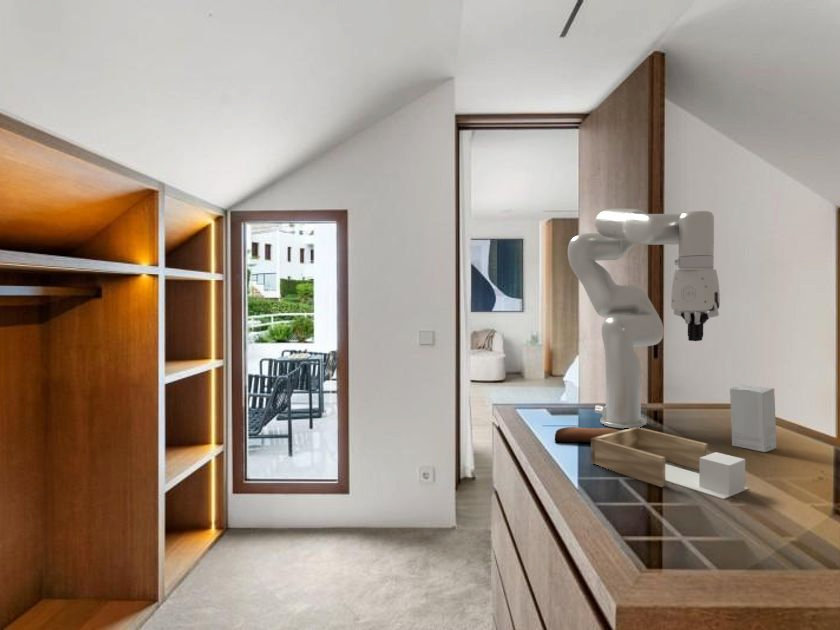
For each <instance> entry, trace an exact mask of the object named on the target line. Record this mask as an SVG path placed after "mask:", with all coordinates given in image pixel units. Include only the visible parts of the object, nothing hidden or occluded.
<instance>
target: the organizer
mask: <svg viewBox="0 0 840 630" xmlns="http://www.w3.org/2000/svg"><path fill="white" fill-rule="evenodd" d="M706 455H709V443H706V442H702V441H698V440H694V439H690V438H685V437H682V436H681V437H680V436H677V435H673V434H669V433H665V432H661V431H657V430H652V429H648V428H644V427H641V428H640V427H633V428H629V429H622V430H619V431H617V432H614V433H610V434H606V435H602V436H598V437H594V438H591V442H590V464H591V463H593V464H596V465H599V466H601V467H600V468H602V467H604V468H603V469H605V468H606V470H608V469H609V470H608V471H611V470H612V472H614V471H615V472H614V473H618V474H620V475H623V476H625V477H626V476H627V477H630V478H633V479H635V480H639V481H643V482H645V483H648V484H651V485H653V486H657V487H660V488H664V487H666V481H665V464H666V462H668V461H669V462H670V463H673V464H676V465H680V466H683V467H687V468H690V469H694V470H696V471H697V470H698V471H699V460H700V457H703V456H706ZM669 462H668V463H669ZM593 464H592V465H593ZM596 465H595V466H596ZM599 466H598V467H599Z"/></svg>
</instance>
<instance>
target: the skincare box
mask: <svg viewBox="0 0 840 630" xmlns="http://www.w3.org/2000/svg"><path fill="white" fill-rule="evenodd" d="M729 397H730V398H729V399H730V401H729V402H730V422H731V423H730V424H731V445H732V446H733V447H737V448H743V449H748V450H753V451H757V452H762V453H767V452H769V451H773V450H776V449H777V422H776V419H777V418H776V402H775V401H776V400H775V399H776V397H775V388H773V387H761V386H752V385H745V384H741V385H737V386H734V387H731V388H729ZM732 446H731V447H732Z"/></svg>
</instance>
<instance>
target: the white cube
mask: <svg viewBox="0 0 840 630" xmlns="http://www.w3.org/2000/svg"><path fill="white" fill-rule="evenodd" d="M698 471H699V472H698V473H699V487H702V488H705V489H709V490H712V491H715V492H719V493H722V494H725V495H728V496H729V495H731V494H734V493H736V492H738V491H741V490H743V489H745V487H746V458H742V457H738V456H733V455H728V454H725V453H721V452H717V451H715V452H712V453H710V454H709V453H708V455H706V456H703V457H700V460H699V470H698Z"/></svg>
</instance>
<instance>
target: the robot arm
mask: <svg viewBox="0 0 840 630" xmlns="http://www.w3.org/2000/svg"><path fill="white" fill-rule="evenodd" d="M594 226H595V229H596V231H597V232H591V233H590V232H589V233H588V232H587V233H581V234H577V235H576V236H574V237H572V238H571V239H570V241H569V243H568V246H567V258H568V263H569V266H570V268H571V270H572V272H573V273H574V275H575V276H576V277H577V279H578V280H579V282H580V284H582V287H583V288H584V290H585V292H586V295H587V296H588V298H589V300H590V303H591V305H592V306H593V308H594V310H595V312H596V313H597V315H599V317H601V318H605V320H604V322H603V323H602V324H601V325H602V326H601V337H602V341H603V348H604V357H605V359H604V360H605V361H604V362H605V405H604V406H603V405H599V404H596V405H595V407H594V413H596V414H601V415H602V416H600V421H599V422H600V424H602V425H603V424H604V425H603V426H606V427H609V428H613V429H624V428H631V427H639V426H643V425H645V424H646V423H647V419H646V418H643V417H641V416H642V415H641V413H642V412H641V411H642V410H641V409H642V408H641V407H642V406H641V403H642V397H641V396H642V393H641V392H642V391H641V390H642V385H641V383H642V382H641V378H642V377H641V373H642V370H641V362H640V361H641V360H640V358H639V357H638V354H637V353H636V351H635V348H639V347H651V346H652V347H653V346H655V345H658V344H659V343H660V342H661V341H662V340H663V338H664V335H665V334H664V333H665V330H664V329H665V328H664V325H663V321H662V319H661V318H660V315H659V314H658V312H657V310H656V308H655V306H654V304H653V303H652V302H651V299H650V298H649V296H648V295H647V293H646V291H645V290H643V288H641V287H639V286H637V285H633V284H631V285H630V284H629V285H628V284H627V285H625V284H624V285H623V284H622V285H619V284H617V283H616V282H615V281H614V280H613V278H612V276H611V274H610V273H609V271H608V270H607V269H606V268H605V267H603V266H602V265H600V263H598V261H617V260H620V259H621V258H623V257H624V256H626V254H627V253H628V252H629V251H630V249H632V248H633V246H634V245H635V244H642V245H649V246H650V245H652V246H655V245H658V246H659V245H678V258H677V259H675V260H674V265H675V266H678V269H677V270H674V271H675V272H674V273H673V277H672V278H673V279H672V285H671V294H670V295H671V296H670V307H671V309H672V310H673V315H675V316H678V317H681V318H682V319H683V320H684V321H685V324H686V325H687V340H688V341H690V342H699V341H700V342H701V341H703V337H704V325H705V324H706V323H707V321H708V320H709V319H711V318H716V317H718V316H719V309H720V303H721V302H720V301H721V298H720V297H721V292H720V284H719V276H718V272H717V269H714V266H715V265H714V262H715V261H714V259H715V257H714V252H715V250H714V249H715V246H714V245H715V241H714V239H715V216H714V214H713V213H712V212H711V211H709V210H693V211H686V212H684V213H683V212H682V213H681V214H680V213H646V212H645V211H643V210H641V209H636V208H617V207H616V208H607V209H604V210H602V211H600V213H598V215H597V216H596V218H595V220H594ZM596 261H597V262H596ZM646 425H647V424H646Z"/></svg>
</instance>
